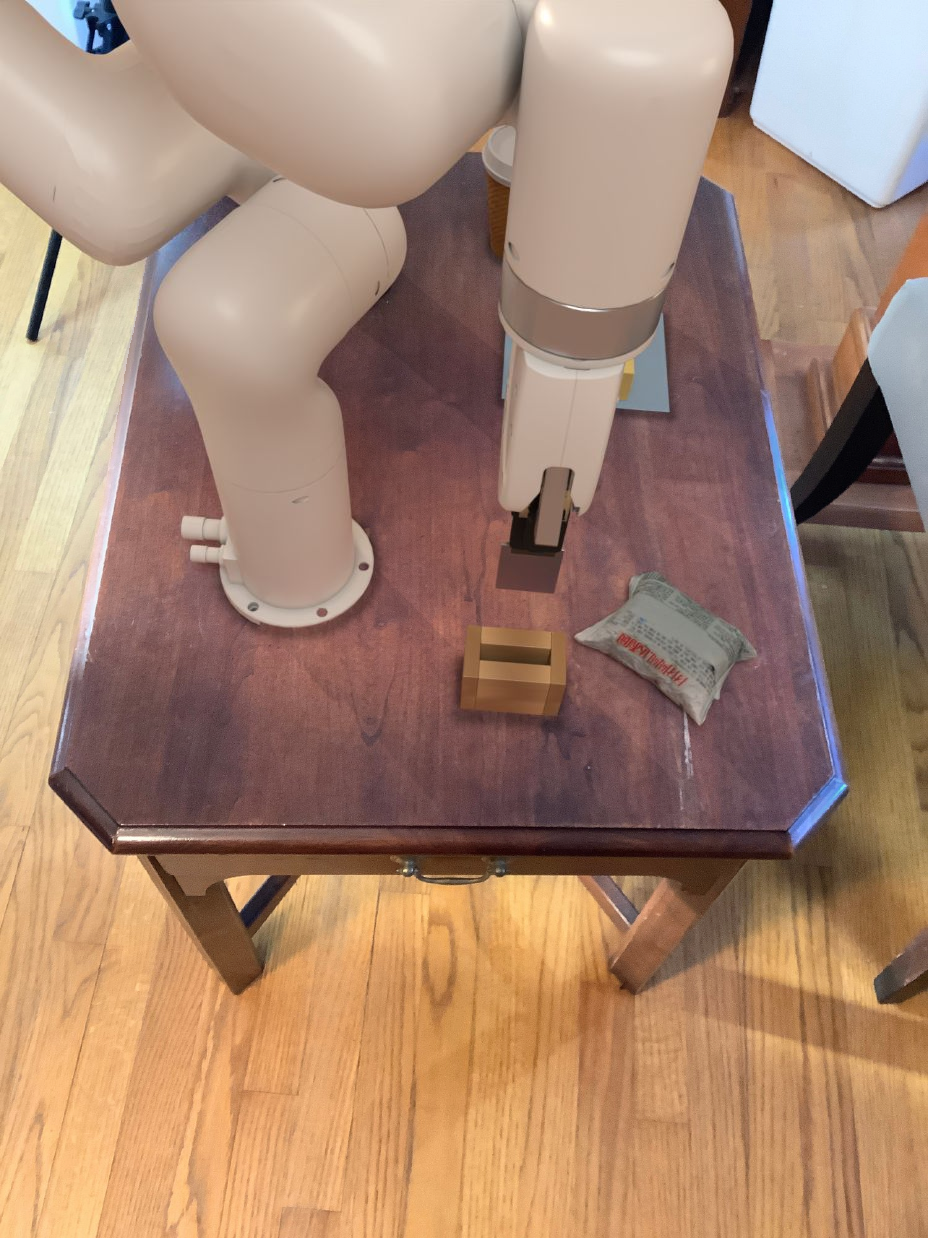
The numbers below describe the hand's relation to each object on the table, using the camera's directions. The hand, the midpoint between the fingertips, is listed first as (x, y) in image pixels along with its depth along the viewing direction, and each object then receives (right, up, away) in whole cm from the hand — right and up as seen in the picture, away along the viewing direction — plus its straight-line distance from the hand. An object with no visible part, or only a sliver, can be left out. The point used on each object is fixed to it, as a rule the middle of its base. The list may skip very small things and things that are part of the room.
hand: (535, 530), depth 59 cm
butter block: (+7, +18, +33) cm, 39 cm away
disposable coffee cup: (+2, +34, +44) cm, 56 cm away
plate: (+8, +20, +36) cm, 42 cm away
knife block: (-1, -11, +16) cm, 19 cm away
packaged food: (+11, -9, +18) cm, 23 cm away
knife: (0, -3, +6) cm, 7 cm away
